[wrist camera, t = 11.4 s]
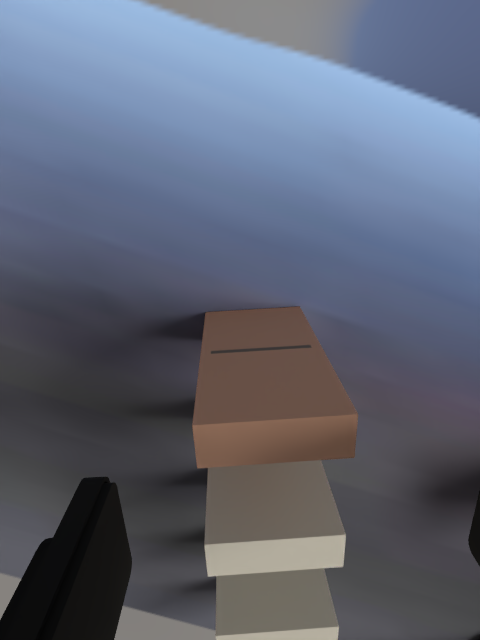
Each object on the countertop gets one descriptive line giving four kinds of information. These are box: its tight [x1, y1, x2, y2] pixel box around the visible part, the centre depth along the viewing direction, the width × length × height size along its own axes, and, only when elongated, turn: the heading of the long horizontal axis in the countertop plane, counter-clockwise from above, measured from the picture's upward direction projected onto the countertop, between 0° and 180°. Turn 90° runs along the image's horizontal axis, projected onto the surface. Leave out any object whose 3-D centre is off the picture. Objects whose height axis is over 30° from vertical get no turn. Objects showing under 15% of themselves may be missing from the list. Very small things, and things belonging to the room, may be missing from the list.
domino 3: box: [216, 568, 339, 640], centre depth 19 cm, size 2×5×9 cm, turn 93°
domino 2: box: [204, 460, 346, 577], centre depth 17 cm, size 2×5×9 cm, turn 92°
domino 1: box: [192, 307, 358, 468], centre depth 15 cm, size 2×5×9 cm, turn 93°
